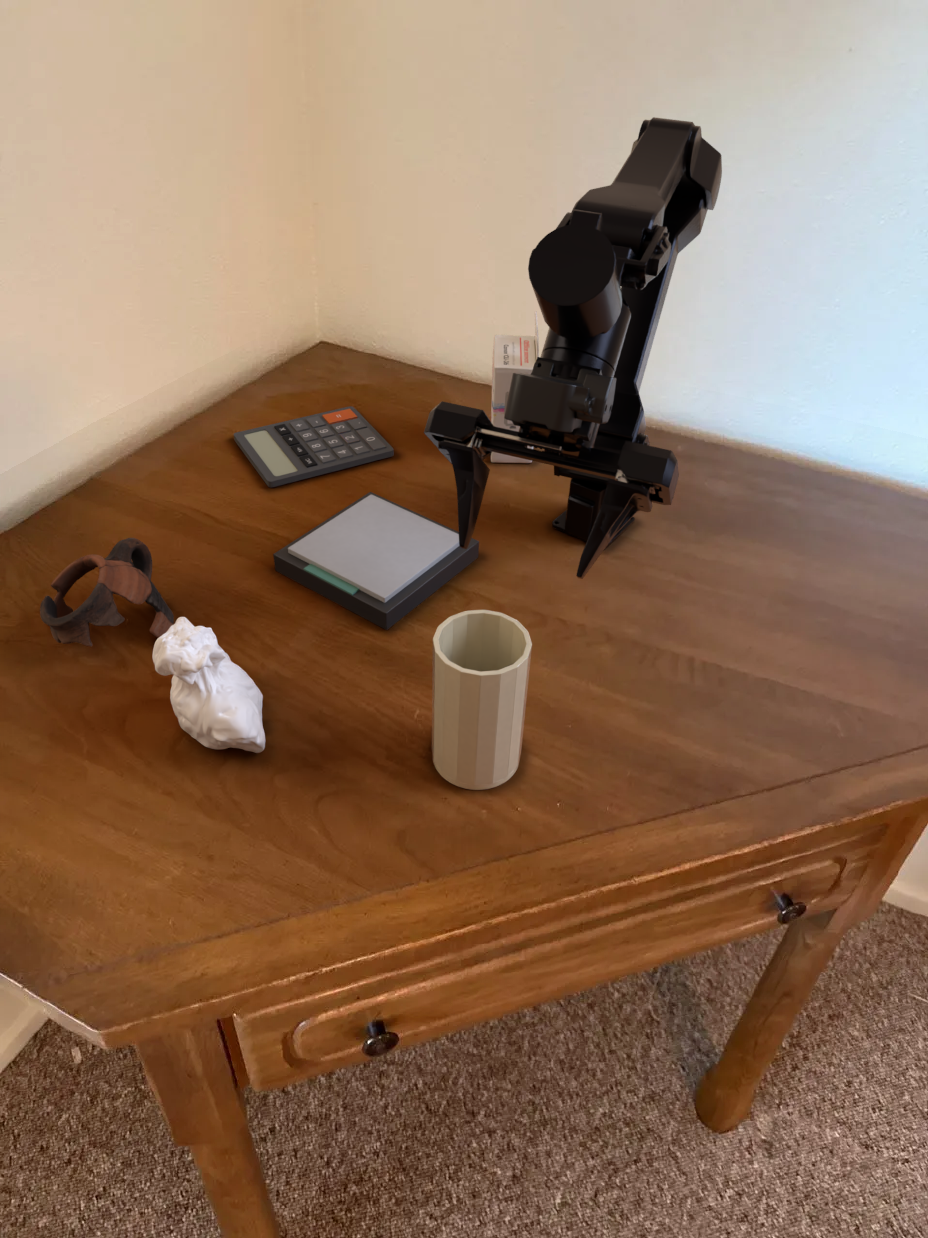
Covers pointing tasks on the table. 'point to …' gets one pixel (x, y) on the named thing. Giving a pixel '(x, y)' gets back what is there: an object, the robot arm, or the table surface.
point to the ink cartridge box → (507, 360)
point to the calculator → (312, 446)
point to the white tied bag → (209, 689)
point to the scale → (376, 559)
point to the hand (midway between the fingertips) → (520, 562)
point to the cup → (479, 697)
